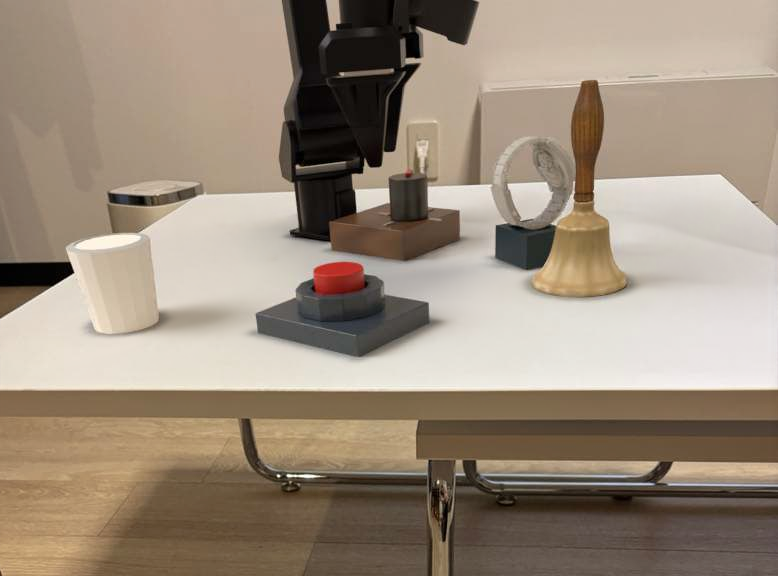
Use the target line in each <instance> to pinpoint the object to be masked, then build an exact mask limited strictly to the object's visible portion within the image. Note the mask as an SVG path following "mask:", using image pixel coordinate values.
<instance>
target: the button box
mask: <svg viewBox="0 0 778 576" xmlns="http://www.w3.org/2000/svg"><path fill="white" fill-rule="evenodd" d="M364 282H365V288H364V289H362V290H359V291H357V292H351V293H345V294H322V293H316V292H315V285H314V277H313V278H311V279H308V280H305V281H302V282H300V283H299V285H298V286H296V287H295V297H293V298H291V299H288V300H286V301H283V302H281V303H277V304H274V305H273V306H271V307H270V306H269V307H268V308H265V309H263V310H260V311H258V312H256V313H254V315H255V322H256V329H257V333H258V334H262V335H265V336H270V337H272V338H278V339H281V340H285V341H289V342H290V341H291V342H294V343H298V344H302V345H307V346H311V347H315V348H320V349H322V350H326V351H327V350H328V351H332V352H336V353H340V354H345V355H348V356H351V357H356V358H359V357H362V356H365V355H366V354H368V353H370V352H372V351H374V350H376V349H378V348H380V347H382V346H384V345H386V344H389V343H391V342H392V341H395V340H397V339H398V338H400V337H403V336H405V335H406V334H409V333H411V332H413V331H415V330H417V329H419V328H421V327H423V326H425V325H427V324H429V323H430V303H429V301H428V302H427V301H424V300H417V299H412V298H405V297H400V296H394V295H390V294H385V281H384V280H382V279H381V278H379V277H378V276H376V275H371V274H365V273H364Z"/></svg>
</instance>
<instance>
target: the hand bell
mask: <svg viewBox="0 0 778 576" xmlns="http://www.w3.org/2000/svg"><path fill="white" fill-rule="evenodd" d="M604 128H605V112H604V105H603V100H602V98H601V92H600V87H599V82H598V80H597V79H589V80H587V79H586V80H582V81H581V83H580V87H579V92H578V95H577V98H576V101H575V104H574V107H573V109H572V115H571V124H570V142H571V149H572V154H573V159H574V163H575V166H576V175H575V181H574V186H573V200H574V201H573V207H572V211H571V212H570V213H569V214H566V216H564V217H561V218H560V219H559V220H557V222H556V225H555V226H556V230H555V236H554V241H553V245H552V249H551V252H550V255H549V257H548V259H547V261H546V263H545V264H544V266H542V267H541V269H539V271H537V272H536V273H535V274H534V275H533V278H532V280H531V286H532V287H533V288H534V289H535V290H536V291H538V292H540V293H543V294H546V295H551V296H555V297H556V296H557V297H563V298H590V297H591V298H592V297H599V296H606V295H610V294H613V293H616V292H619V291H620V290H622V289H624V288H625V287H626V286H627V284H628V279H627V277H626V274H625V273H624V271H623V270H622V269H620V268H619V266H618V264H617V263H616V261H615V258H614V255H613V250H612V246H611V235H610V222H609V219H608V218H607V217H605V216H603V215H601V214H599V213H598V212H596V210H595V192H594V191H595V169H596V162H597V159H598V156H599V153H600V150H601V147H602V142H603V138H604V137H603V136H604V130H605V129H604Z"/></svg>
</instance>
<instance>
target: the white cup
mask: <svg viewBox="0 0 778 576" xmlns="http://www.w3.org/2000/svg"><path fill="white" fill-rule="evenodd" d="M65 250H66V253H67V256H68V258H69V262H70V264H71V267H72V270H73V272H74V276H75V278H76V281H77V284H78V287H79V290H80V292H81V296H82V298H83V301H84V304H85V306H86V309H87V311H88V314H89V317H90V321H91V324H92V326H93V328H94V330H95V332H98V333H101V334H109V335H117V334H118V335H119V334H127V333H133V332H138V331H141V330H144V329H147V328H150V327H152V326H153V325H155V324H158V321H159V320H160V315H159V307H158V298H157V297H158V296H157V289H156V279H155V272H154V263H153V256H152V255H153V254H152V245H151V238H150V237H149V235H148V234H146V233H140V232H115V233H105V234H100V235H93V236H90V237H86V238H81V239H79V240H76V241H73V242H71V243H69V244H68V245H67V246H66V247H65Z"/></svg>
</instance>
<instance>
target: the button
mask: <svg viewBox="0 0 778 576" xmlns="http://www.w3.org/2000/svg"><path fill="white" fill-rule="evenodd" d="M312 274H313V278H314V285H315V292H316V293H322V294H345V293H351V292H357V291H359V290H362V289H364V288H365V282H364V274H365V270H364V266H363V264H362V263H358V262H353V261H335V262H328V263H324V264H321V265H318V266H316V267H315V268H314V269H313V270H312Z"/></svg>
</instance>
